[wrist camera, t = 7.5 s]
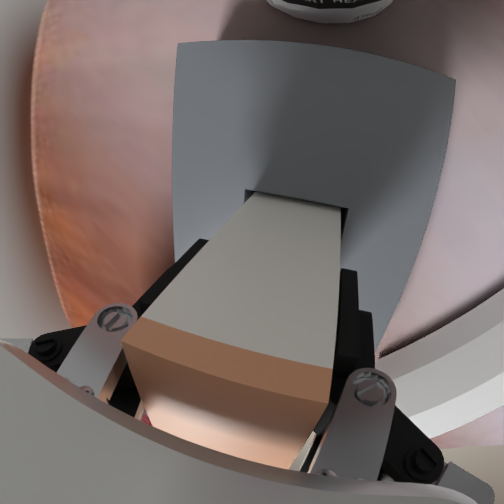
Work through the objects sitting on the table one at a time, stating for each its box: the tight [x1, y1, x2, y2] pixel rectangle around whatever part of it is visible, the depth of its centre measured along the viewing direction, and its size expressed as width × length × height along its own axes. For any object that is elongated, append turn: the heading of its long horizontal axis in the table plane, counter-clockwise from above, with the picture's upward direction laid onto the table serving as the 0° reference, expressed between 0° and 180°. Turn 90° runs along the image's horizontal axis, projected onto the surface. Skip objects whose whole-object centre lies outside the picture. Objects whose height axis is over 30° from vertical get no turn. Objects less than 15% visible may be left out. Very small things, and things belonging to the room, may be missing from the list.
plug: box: [120, 192, 341, 469], centre depth 10 cm, size 4×4×10 cm
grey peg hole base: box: [172, 40, 456, 353], centre depth 15 cm, size 12×18×4 cm, turn 175°
